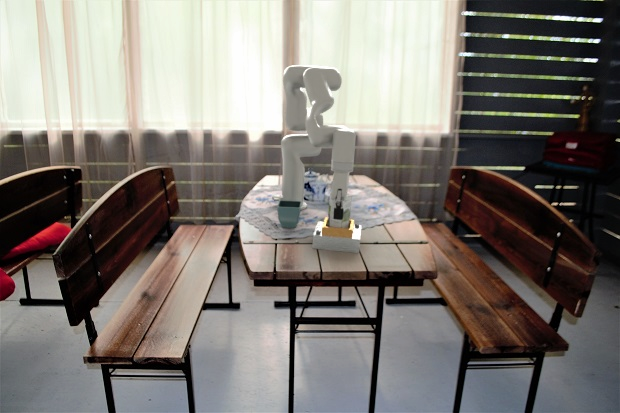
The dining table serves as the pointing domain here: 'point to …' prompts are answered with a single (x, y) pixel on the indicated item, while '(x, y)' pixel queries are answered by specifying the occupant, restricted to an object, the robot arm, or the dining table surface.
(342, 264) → the dining table surface
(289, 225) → the flower pot
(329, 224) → the syrup box
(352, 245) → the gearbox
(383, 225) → the dining table surface
